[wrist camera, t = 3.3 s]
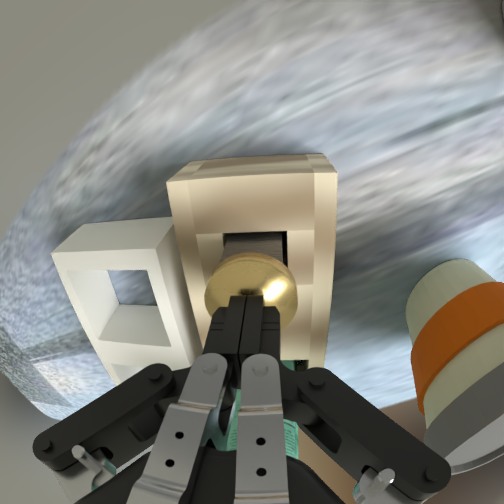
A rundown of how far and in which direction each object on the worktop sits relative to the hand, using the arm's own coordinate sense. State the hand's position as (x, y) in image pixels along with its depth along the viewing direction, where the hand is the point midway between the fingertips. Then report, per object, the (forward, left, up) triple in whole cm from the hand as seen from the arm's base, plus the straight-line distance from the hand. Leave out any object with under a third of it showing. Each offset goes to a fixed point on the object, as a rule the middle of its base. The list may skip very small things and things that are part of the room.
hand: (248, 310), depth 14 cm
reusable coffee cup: (+8, +17, -10) cm, 21 cm away
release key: (0, 0, -6) cm, 6 cm away
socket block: (+6, 0, -9) cm, 11 cm away
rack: (+9, -10, -9) cm, 17 cm away
